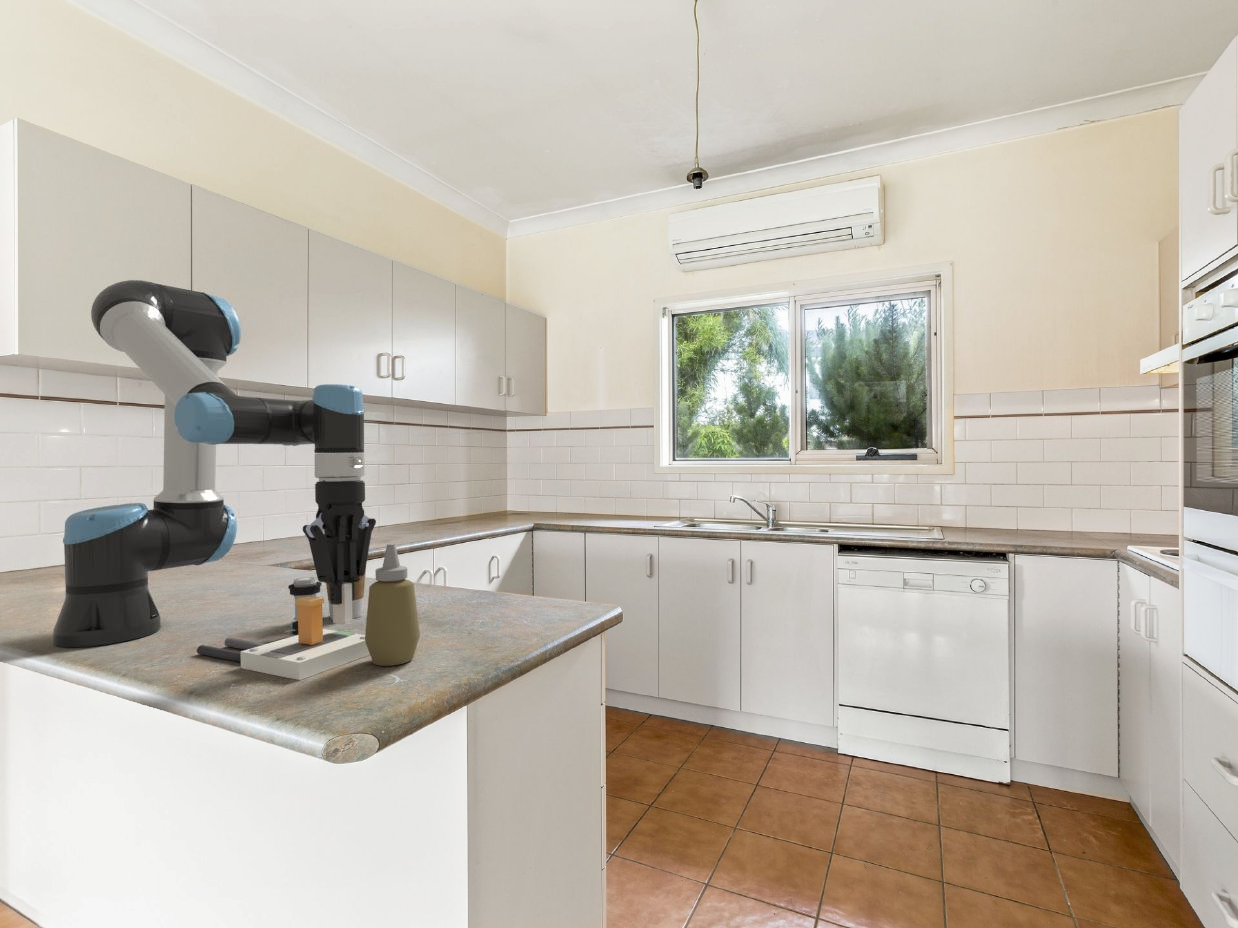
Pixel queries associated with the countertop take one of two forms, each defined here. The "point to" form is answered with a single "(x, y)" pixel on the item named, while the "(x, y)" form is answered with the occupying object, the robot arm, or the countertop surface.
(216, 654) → the cord
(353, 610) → the coffee cup
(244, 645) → the cord
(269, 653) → the panel
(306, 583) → the push button
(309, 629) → the lever
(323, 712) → the countertop surface
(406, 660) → the squeeze bottle
